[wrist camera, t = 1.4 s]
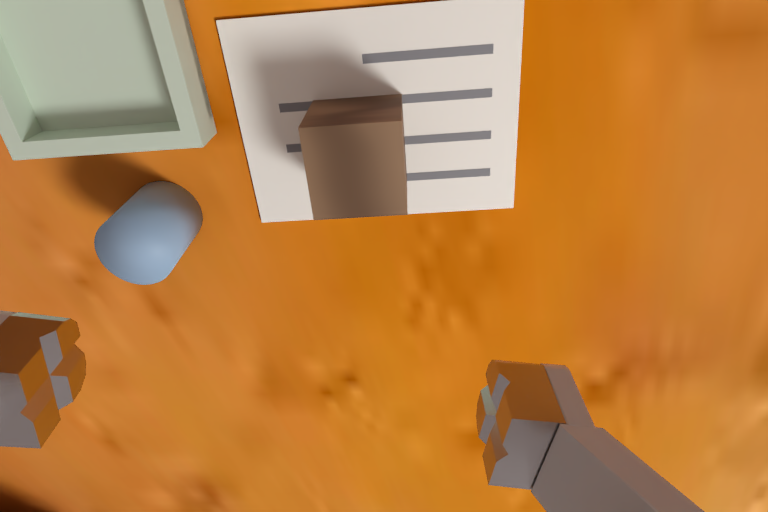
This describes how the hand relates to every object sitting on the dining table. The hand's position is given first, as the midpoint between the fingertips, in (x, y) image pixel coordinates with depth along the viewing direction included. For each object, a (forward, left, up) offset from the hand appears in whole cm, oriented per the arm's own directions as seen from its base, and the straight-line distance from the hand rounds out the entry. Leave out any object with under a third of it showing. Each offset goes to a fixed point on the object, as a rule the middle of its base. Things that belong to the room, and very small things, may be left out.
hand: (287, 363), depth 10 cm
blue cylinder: (+13, +7, -22) cm, 27 cm away
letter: (-1, +2, -22) cm, 22 cm away
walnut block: (0, +3, -22) cm, 22 cm away
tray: (+14, -4, -22) cm, 26 cm away
